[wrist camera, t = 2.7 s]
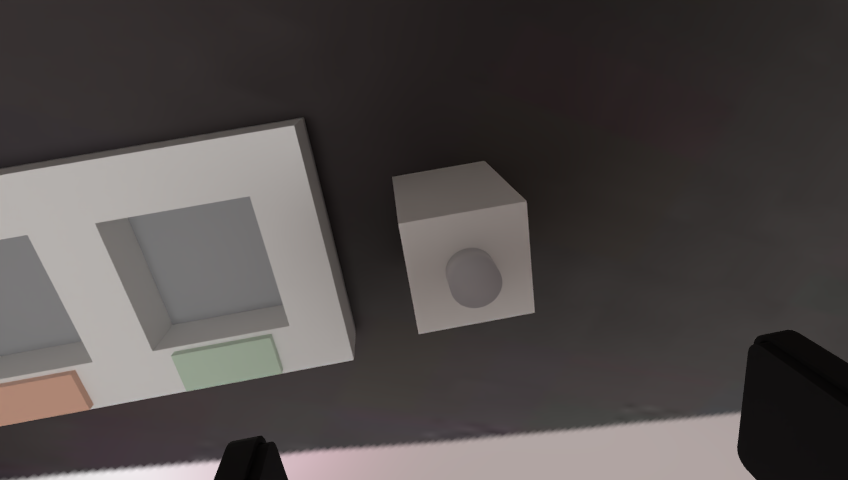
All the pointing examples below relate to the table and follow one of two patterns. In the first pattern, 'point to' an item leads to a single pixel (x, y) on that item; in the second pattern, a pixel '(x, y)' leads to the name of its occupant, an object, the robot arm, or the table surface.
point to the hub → (166, 271)
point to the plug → (464, 246)
